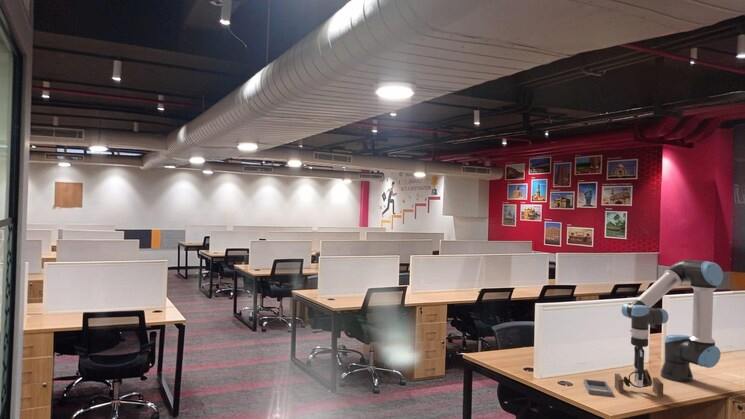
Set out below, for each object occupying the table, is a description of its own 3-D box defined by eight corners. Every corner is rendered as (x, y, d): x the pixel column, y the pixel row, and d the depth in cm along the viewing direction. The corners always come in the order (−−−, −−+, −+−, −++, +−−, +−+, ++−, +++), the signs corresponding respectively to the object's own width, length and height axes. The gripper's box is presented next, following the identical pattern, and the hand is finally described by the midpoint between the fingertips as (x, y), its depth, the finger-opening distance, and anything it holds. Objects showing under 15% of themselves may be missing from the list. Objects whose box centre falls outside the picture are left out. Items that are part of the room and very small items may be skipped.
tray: (605, 386, 261) (605, 381, 261) (612, 397, 244) (612, 392, 244) (583, 383, 263) (583, 379, 263) (588, 394, 247) (588, 389, 247)
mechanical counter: (654, 393, 247) (655, 373, 246) (625, 390, 250) (625, 370, 250) (651, 387, 253) (651, 368, 253) (622, 384, 257) (623, 365, 257)
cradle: (657, 391, 254) (657, 377, 254) (663, 398, 245) (663, 384, 245) (614, 387, 259) (614, 373, 259) (618, 393, 249) (619, 379, 249)
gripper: (628, 332, 262) (627, 377, 262) (633, 340, 244) (632, 389, 244) (645, 333, 260) (644, 379, 260) (651, 342, 242) (650, 391, 241)
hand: (638, 384), depth 252 cm, fingers closed on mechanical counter, 6 cm apart
